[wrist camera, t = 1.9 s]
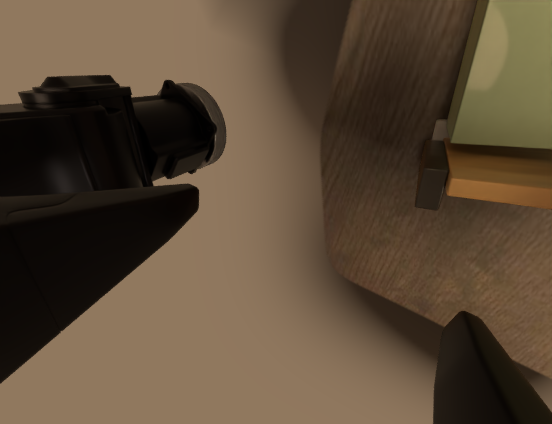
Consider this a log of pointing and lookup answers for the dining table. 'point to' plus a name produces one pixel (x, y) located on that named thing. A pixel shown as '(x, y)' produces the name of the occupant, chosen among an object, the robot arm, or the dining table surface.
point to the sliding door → (484, 174)
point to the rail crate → (504, 78)
